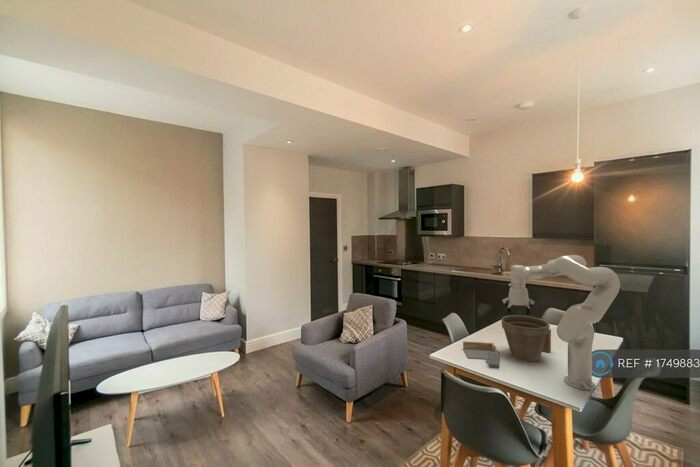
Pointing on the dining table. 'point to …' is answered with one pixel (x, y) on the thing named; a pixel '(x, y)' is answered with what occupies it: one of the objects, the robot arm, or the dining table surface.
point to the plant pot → (525, 336)
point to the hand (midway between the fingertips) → (518, 314)
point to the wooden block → (547, 343)
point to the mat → (477, 354)
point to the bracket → (493, 360)
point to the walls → (480, 346)
